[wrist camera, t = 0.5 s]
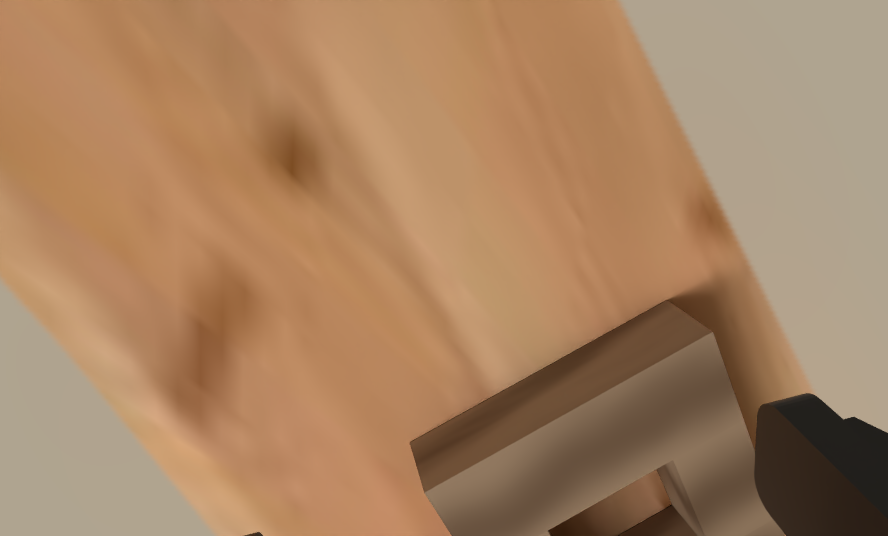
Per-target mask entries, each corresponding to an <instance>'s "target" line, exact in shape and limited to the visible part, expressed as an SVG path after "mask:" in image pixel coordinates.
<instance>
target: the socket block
mask: <svg viewBox="0 0 888 536" xmlns="http://www.w3.org/2000/svg"><path fill="white" fill-rule="evenodd" d="M410 445H411V449H412V452H413V456H414V459H415V462H416V466H417V469H418V473H419V476H420V479H421V483H422V486H423V489H424V493H425V494H426V496H427V497H428V499H429V501H430V502H431V504H432V505H433V507H434V508H435V510H436V512H437V513H438V515H439V516H440V518H441V519H442V521H443V523H444V524H445V526H446V527H447V529H448V530H449V532H450V534H451V535H452V536H552V535H551V533H550V532H549V530H550V529H552V528H553V527H555V526H557V525H559V524H560V523H562V522H564V521H566V520H567V519H569V518H571V517H573V516H575V515H576V514H578V513H580V512H582V511H583V510H585V509H587V508H589V507H590V506H592V505H594V504H596V503H598V502H599V501H601V500H603V499H605V498H606V497H608V496H610V495H612V494H613V493H615V492H617V491H619V490H621V489H622V488H624V487H626V486H628V485H629V484H631V483H633V482H635V481H636V480H638V479H640V478H642V477H644V476H645V475H647V474H649V473H651V472H652V471H654V470H656V469H657V471H658V473H659V476H660V478H661V480H662V482H663V485H664V487H665V489H666V492H667V494H668V496H669V498H670V501H671V503H672V505H671V506H670V507H668V508H666V509H664V510H663V511H661V512H659V513H657V514H656V515H654V516H652V517H650V518H649V519H647V520H645V521H643V522H642V523H640V524H638V525H636V526H634V527H633V528H631V529H629V530H627V531H626V532H624V533H622V534H620V535H619V536H784V533H783V531H782V530H781V529H780V527H779V526H778V525H777V524H776V522H775V521H774V520H773V519H772V517H771V516H770V515H769V513H768V512H767V510H766V509H765V507H764V505H763V503H762V501H761V499H760V497H759V494H758V492H757V488H756V485H755V479H754V466H755V450H754V447H753V444H752V442H751V439H750V436H749V433H748V430H747V427H746V424H745V422H744V419H743V416H742V413H741V410H740V407H739V405H738V402H737V399H736V396H735V393H734V390H733V387H732V385H731V382H730V379H729V376H728V373H727V370H726V367H725V365H724V362H723V359H722V356H721V353H720V350H719V348H718V345H717V342H716V339H715V336H714V333H713V331H711V330H710V329H708V328H707V327H705V326H704V325H703V324H701V323H700V322H698V321H697V320H695V319H694V318H692V317H691V316H690V315H688V314H687V313H685V312H684V311H682V310H681V309H679V308H678V307H677V306H675V305H674V304H672V303H671V302H669V301H668V300H666V301H664V302H663V303H661V304H659V305H657V306H655V307H654V308H652V309H650V310H648V311H646V312H645V313H643V314H641V315H639V316H637V317H636V318H634V319H632V320H630V321H628V322H627V323H625V324H623V325H621V326H619V327H618V328H616V329H614V330H612V331H610V332H608V333H607V334H605V335H603V336H601V337H599V338H598V339H596V340H594V341H592V342H590V343H589V344H587V345H585V346H583V347H581V348H580V349H578V350H576V351H574V352H572V353H571V354H569V355H567V356H565V357H563V358H562V359H560V360H558V361H556V362H554V363H553V364H551V365H549V366H547V367H545V368H544V369H542V370H540V371H538V372H536V373H534V374H533V375H531V376H529V377H527V378H525V379H524V380H522V381H520V382H518V383H516V384H515V385H513V386H511V387H509V388H507V389H506V390H504V391H502V392H500V393H498V394H497V395H495V396H493V397H491V398H489V399H488V400H486V401H484V402H482V403H480V404H479V405H477V406H475V407H473V408H471V409H470V410H468V411H466V412H464V413H462V414H460V415H459V416H457V417H455V418H453V419H451V420H450V421H448V422H446V423H444V424H442V425H441V426H439V427H437V428H435V429H433V430H432V431H430V432H428V433H426V434H424V435H423V436H421V437H419V438H417V439H415V440H414V441H412V442H410Z"/></svg>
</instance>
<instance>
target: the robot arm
mask: <svg viewBox="0 0 888 536" xmlns="http://www.w3.org/2000/svg"><path fill="white" fill-rule="evenodd" d="M754 479H755V485H756V488H757V492H758V494H759V497H760V499H761V501H762V503H763V505H764V507H765V509H766V510H767V512H768V513H769V515H770V516H771V517H772V519H773V520H774V521H775V522H776V524H777V525H778V526H779V527H780V529H781V530H782V531H783V532H784V534H785V535H786V536H888V433H887V432H884V431H882V430H880V429H878V428H876V427H874V426H872V425H870V424H867V423H866V422H864V421H862V420H859V419H857V418H855V417H851V418H847V419H844V420H843V419H842V418H841V417H840V416H839V415H837V414H836V413H835V412H834V411H833V410H832V409H831V408H830V407H828V406H827V405H826V404H825V403H824V402H823V401H822V400H821V399H819V398H818V397H817V396H815V395H813V394H810V393H806V394H802V395H798V396H794V397H790V398H786V399H782V400H778V401H775V402H771V403H767V404H763V405H762V406H760V408H759V410H758V414H757V429H756V447H755V466H754ZM245 536H263V535H262V534H261V533H260V532H257V533H253V534H249V535H245Z"/></svg>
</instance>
